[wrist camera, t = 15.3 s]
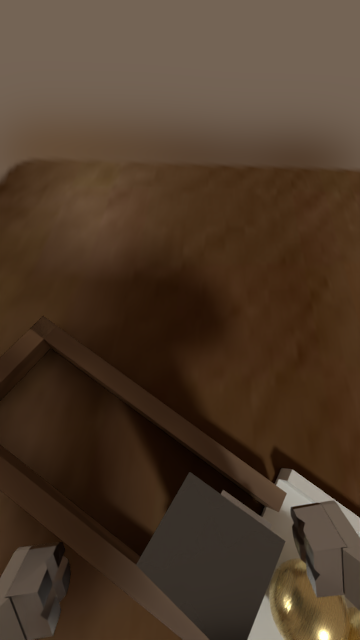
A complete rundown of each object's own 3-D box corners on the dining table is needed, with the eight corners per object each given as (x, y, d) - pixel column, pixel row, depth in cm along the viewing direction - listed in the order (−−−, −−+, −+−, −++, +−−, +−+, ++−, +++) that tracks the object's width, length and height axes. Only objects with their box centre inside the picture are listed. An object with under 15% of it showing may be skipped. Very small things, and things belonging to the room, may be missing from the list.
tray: (353, 811, 15) (376, 848, 13) (191, 675, 16) (197, 697, 14) (407, 558, 20) (428, 566, 18) (281, 467, 21) (292, 469, 19)
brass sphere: (253, 610, 17) (321, 670, 16) (261, 626, 14) (348, 704, 13) (281, 541, 19) (344, 589, 18) (293, 541, 16) (372, 599, 14)
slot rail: (206, 642, 16) (216, 666, 15) (-54, 431, 18) (-75, 429, 16) (272, 488, 20) (286, 493, 18) (50, 326, 22) (43, 315, 20)
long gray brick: (240, 613, 16) (224, 698, 7) (186, 564, 18) (123, 587, 9) (274, 530, 18) (293, 519, 9) (222, 492, 20) (198, 455, 11)
